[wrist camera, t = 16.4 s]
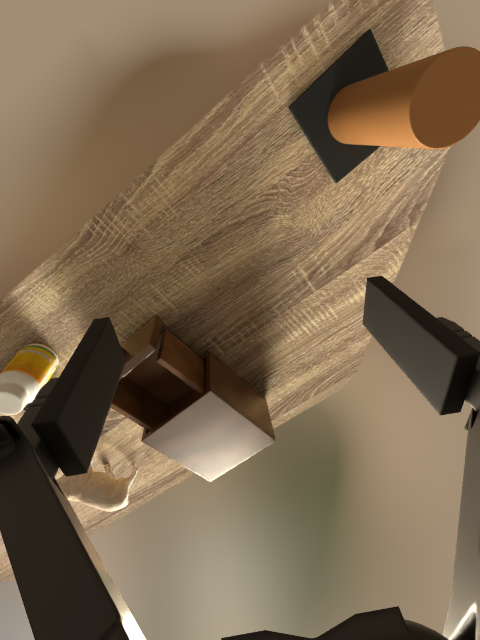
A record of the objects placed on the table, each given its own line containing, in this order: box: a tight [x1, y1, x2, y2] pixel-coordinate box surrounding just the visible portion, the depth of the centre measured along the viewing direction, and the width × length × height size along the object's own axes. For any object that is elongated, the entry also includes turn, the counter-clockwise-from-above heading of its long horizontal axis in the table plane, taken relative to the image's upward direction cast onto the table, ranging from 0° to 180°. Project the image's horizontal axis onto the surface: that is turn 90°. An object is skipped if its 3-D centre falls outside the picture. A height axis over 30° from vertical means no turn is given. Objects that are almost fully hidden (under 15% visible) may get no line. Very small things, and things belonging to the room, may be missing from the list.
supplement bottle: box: [0, 344, 59, 415], centre depth 43 cm, size 5×5×10 cm
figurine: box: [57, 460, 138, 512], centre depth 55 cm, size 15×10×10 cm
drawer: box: [110, 315, 206, 431], centre depth 45 cm, size 15×12×7 cm
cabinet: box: [141, 351, 275, 481], centre depth 50 cm, size 15×14×9 cm
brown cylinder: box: [328, 47, 480, 149], centre depth 28 cm, size 6×6×16 cm
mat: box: [289, 29, 389, 183], centre depth 35 cm, size 10×10×1 cm
